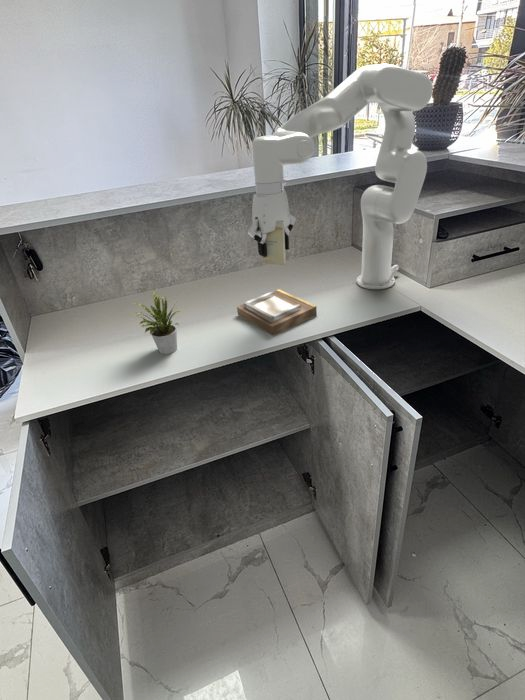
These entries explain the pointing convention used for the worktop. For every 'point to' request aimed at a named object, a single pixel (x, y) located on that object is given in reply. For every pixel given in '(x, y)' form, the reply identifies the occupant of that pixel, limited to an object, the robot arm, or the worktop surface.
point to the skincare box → (275, 246)
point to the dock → (276, 311)
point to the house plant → (161, 326)
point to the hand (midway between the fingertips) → (274, 251)
